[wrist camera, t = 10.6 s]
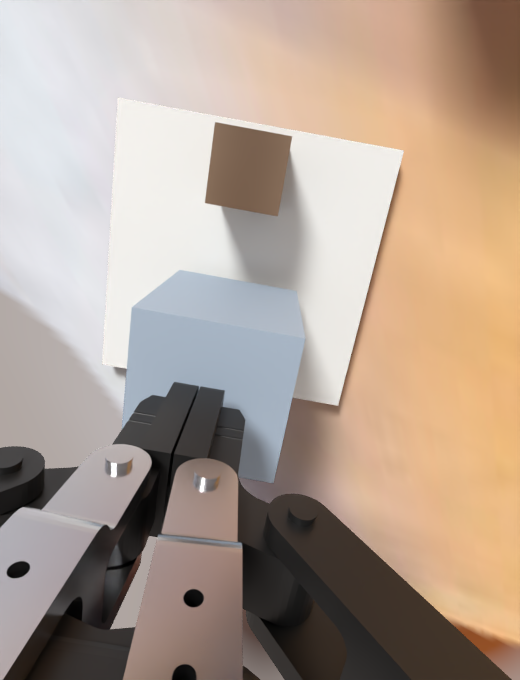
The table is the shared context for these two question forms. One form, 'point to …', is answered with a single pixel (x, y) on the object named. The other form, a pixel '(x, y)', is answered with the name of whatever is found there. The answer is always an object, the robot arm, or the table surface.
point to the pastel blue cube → (221, 354)
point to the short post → (247, 169)
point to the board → (247, 230)
